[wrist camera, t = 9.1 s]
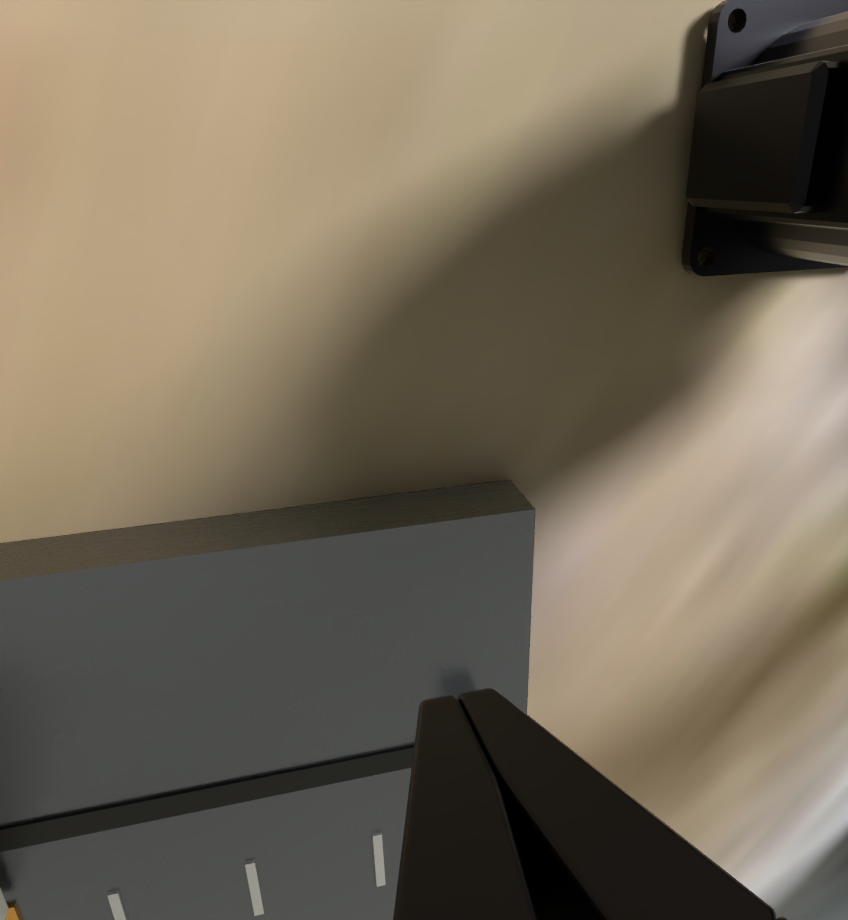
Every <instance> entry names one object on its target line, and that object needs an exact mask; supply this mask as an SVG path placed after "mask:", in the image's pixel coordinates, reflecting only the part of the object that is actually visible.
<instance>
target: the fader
mask: <svg viewBox="0 0 848 920" xmlns="http://www.w3.org/2000/svg"><path fill="white" fill-rule="evenodd" d="M8 910H9V908H8V906H7V903H6V901H5V898H4V896H3V893H2V891H1V888H0V920H5V919H6V916H7V913H8Z"/></svg>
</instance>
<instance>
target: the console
mask: <svg viewBox="0 0 848 920" xmlns="http://www.w3.org/2000/svg"><path fill="white" fill-rule="evenodd" d="M534 529H535V508H534V507H533V506H532V505H531V504H530V502H529V501H528V500H527V499H526V498H525V496H524V495H523V494H522V493H521V492H520V491H519V489H518V488H517V487H516V486H515V485H514V483H513V482H512V481H511V480H506V481H498V482H490V483H482V484H474V485H466V486H458V487H450V488H442V489H434V490H426V491H418V492H410V493H402V494H394V495H386V496H378V497H370V498H361V499H353V500H345V501H337V502H329V503H321V504H313V505H305V506H297V507H289V508H281V509H273V510H265V511H257V512H249V513H241V514H233V515H225V516H217V517H209V518H201V519H192V520H184V521H176V522H168V523H160V524H152V525H144V526H136V527H128V528H120V529H112V530H104V531H96V532H88V533H80V534H72V535H64V536H56V537H48V538H40V539H32V540H23V541H15V542H7V543H0V888H1V891H2V893H3V896H4V898H5V901H6V903H7V906H8V908H9V910H8V913H7V916H6V919H5V920H393V915H394V907H395V899H396V891H397V882H398V874H399V866H400V858H401V850H402V842H403V833H404V825H405V817H406V809H407V801H408V793H409V785H410V776H411V768H412V760H413V752H414V744H415V736H416V728H417V719H418V711H419V705H420V703H421V702H422V701H423V700H427V699H432V698H437V697H443V696H448V695H453V696H455V697H456V698H458V696H459V695H460V694H461V693H464V692H469V691H475V690H480V689H486V688H492V689H494V690H497V691H498V692H499V693H501V694H502V695H503V696H504V697H506V698H507V699H508V700H510V701H511V702H512V703H513V704H515V705H516V706H517V707H518V708H520V709H521V710H522V711H523V712H525V713H526V714H527V698H528V674H529V650H530V625H531V601H532V577H533V553H534Z"/></svg>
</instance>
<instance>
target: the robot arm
mask: <svg viewBox="0 0 848 920" xmlns="http://www.w3.org/2000/svg"><path fill="white" fill-rule="evenodd" d="M730 13H733V14H734V16H735V18H736V26H735V29H734V31H733V32H731V31H730V29H729V28H728V18H729V15H730ZM686 197H687V199H688V206H687V214H686V223H685V232H684V240H683V249H682V265H683V267H684V269H685V270H686V271H687V272H688V273H690V274H695V275H699V276H715V275H731V274H746V273H761V272H776V271H791V270H806V269H821V268H836V267H848V0H726V1H723V2H722V3H720V4H719V5H718V6H716V8H715V9H714V11H713V12H712V14H711V17H710V21H709V25H708V34H707V43H706V51H705V60H704V68H703V77H702V85H701V91H700V92H699V94H698V96H697V102H696V111H695V119H694V128H693V137H692V146H691V154H690V163H689V172H688V180H687V189H686ZM703 249H705V250H706V257H705V260H704V261H703V262H702V263H701V264H699V263H698V256H699V253H700V252H701V251H702V250H703ZM393 920H787V919H786V918H784V917H779V918H778V919H777V917H776V913H775V911H774V909H773V908H772V907H770V906H769V905H768V904H767V903H765V902H764V901H763V900H761V899H760V898H759V897H758V896H756V895H755V894H754V893H753V892H751V891H750V890H749V889H748V888H746V887H745V886H744V885H742V884H741V883H740V882H739V881H737V880H736V879H735V878H734V877H732V876H731V875H730V874H729V873H727V872H726V871H725V870H723V869H722V868H721V867H720V866H718V865H717V864H716V863H715V862H713V861H712V860H711V859H710V858H708V857H707V856H706V855H704V854H703V853H702V852H701V851H699V850H698V849H697V848H696V847H694V846H693V845H692V844H691V843H689V842H688V841H687V840H685V839H684V838H683V837H682V836H680V835H679V834H678V833H677V832H675V831H674V830H673V829H672V828H670V827H669V826H668V825H666V824H665V823H664V822H663V821H661V820H660V819H659V818H658V817H656V816H655V815H654V814H653V813H651V812H650V811H649V810H647V809H646V808H645V807H644V806H642V805H641V804H640V803H639V802H637V801H636V800H635V799H634V798H632V797H631V796H630V795H629V794H627V793H626V792H625V791H623V790H622V789H621V788H620V787H618V786H617V785H616V784H615V783H613V782H612V781H611V780H610V779H608V778H607V777H606V776H604V775H603V774H602V773H601V772H599V771H598V770H597V769H596V768H594V767H593V766H592V765H591V764H589V763H588V762H587V761H585V760H584V759H583V758H582V757H580V756H579V755H578V754H577V753H575V752H574V751H573V750H572V749H570V748H569V747H568V746H566V745H565V744H564V743H563V742H561V741H560V740H559V739H558V738H556V737H555V736H554V735H553V734H551V733H550V732H549V731H547V730H546V729H545V728H544V727H542V726H541V725H540V724H539V723H537V722H536V721H535V720H534V719H532V718H531V717H530V716H529V715H527V714H526V713H525V712H523V711H522V710H521V709H520V708H518V707H517V706H516V705H515V704H513V703H512V702H511V701H510V700H508V699H507V698H506V697H504V696H503V695H502V694H501V693H499V692H498V691H497V690H494V689H492V688H486V689H480V690H475V691H469V692H464V693H461V694H460V695H459V696H458V698H456V697H455V696H453V695H448V696H443V697H437V698H432V699H427V700H423V701H422V702H421V703H420V705H419V711H418V719H417V728H416V736H415V744H414V752H413V760H412V768H411V776H410V785H409V793H408V801H407V809H406V817H405V825H404V833H403V842H402V850H401V858H400V866H399V874H398V882H397V891H396V899H395V907H394V915H393Z"/></svg>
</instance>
